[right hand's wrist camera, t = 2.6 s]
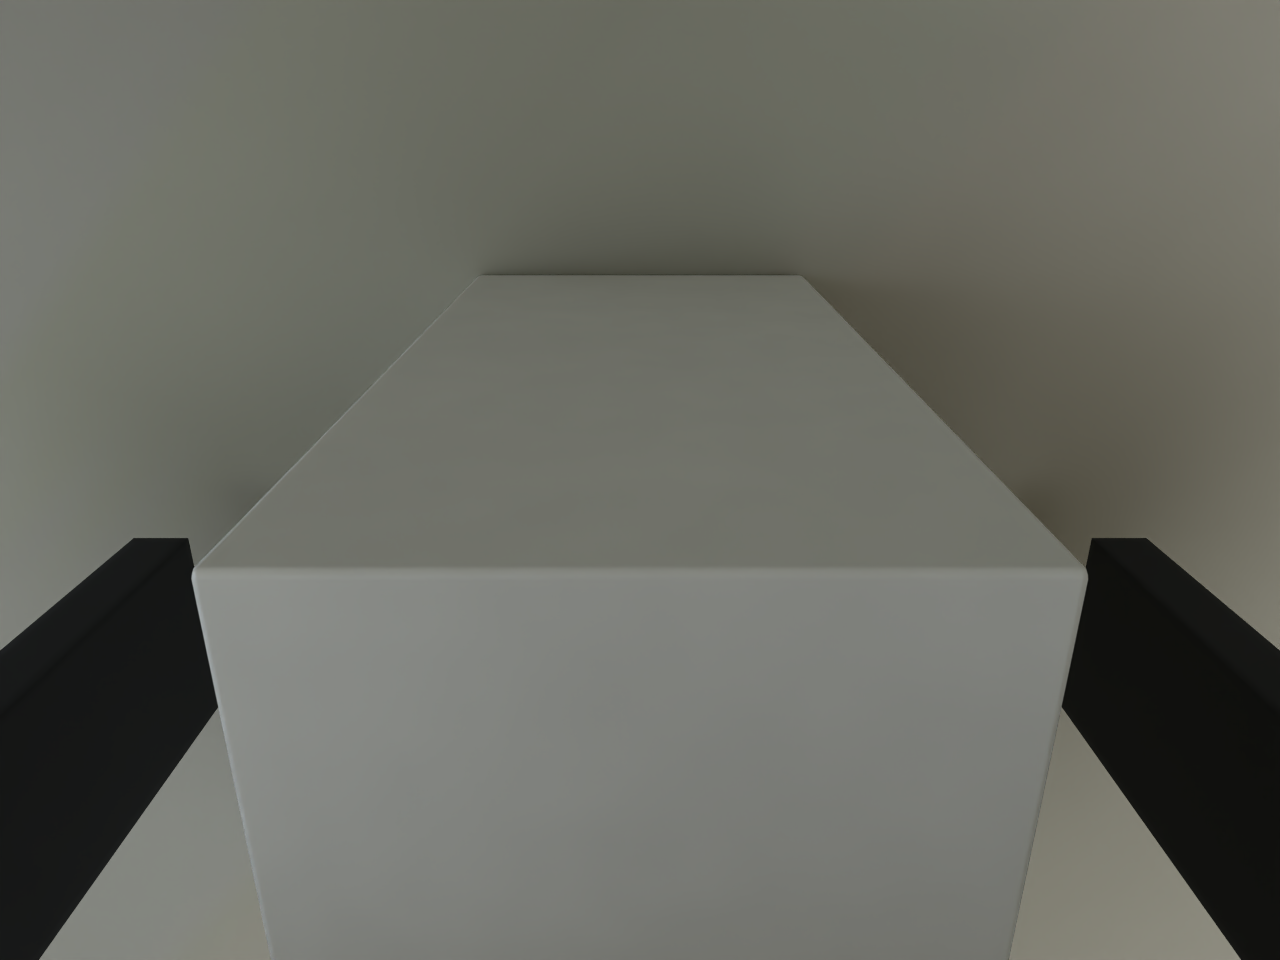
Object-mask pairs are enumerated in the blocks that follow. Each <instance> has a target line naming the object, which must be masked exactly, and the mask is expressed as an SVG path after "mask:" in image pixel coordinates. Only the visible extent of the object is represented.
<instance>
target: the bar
mask: <svg viewBox="0 0 1280 960" xmlns="http://www.w3.org/2000/svg"><path fill="white" fill-rule="evenodd" d="M191 579H192V584H193V589H194V593H195V598H196V603H197V608H198V613H199V617H200V622H201V627H202V632H203V636H204V641H205V646H206V651H207V656H208V660H209V665H210V670H211V675H212V679H213V684H214V689H215V694H216V699H217V703H218V708H219V713H220V718H221V722H222V727H223V732H224V737H225V742H226V746H227V751H228V756H229V761H230V765H231V770H232V775H233V780H234V785H235V789H236V794H237V799H238V804H239V808H240V813H241V818H242V823H243V828H244V832H245V837H246V842H247V847H248V851H249V856H250V861H251V866H252V871H253V875H254V880H255V885H256V890H257V894H258V899H259V904H260V909H261V914H262V918H263V923H264V928H265V933H266V937H267V942H268V947H269V952H270V957H271V960H1009V955H1010V951H1011V946H1012V941H1013V936H1014V931H1015V927H1016V922H1017V917H1018V912H1019V908H1020V903H1021V898H1022V893H1023V888H1024V884H1025V879H1026V874H1027V869H1028V864H1029V860H1030V855H1031V850H1032V845H1033V841H1034V836H1035V831H1036V826H1037V821H1038V817H1039V812H1040V807H1041V802H1042V798H1043V793H1044V788H1045V783H1046V778H1047V774H1048V769H1049V764H1050V759H1051V754H1052V750H1053V745H1054V740H1055V735H1056V731H1057V726H1058V721H1059V716H1060V711H1061V707H1062V702H1063V697H1064V692H1065V688H1066V683H1067V678H1068V673H1069V668H1070V664H1071V659H1072V654H1073V649H1074V644H1075V640H1076V635H1077V630H1078V625H1079V621H1080V616H1081V611H1082V606H1083V601H1084V597H1085V592H1086V587H1087V582H1088V574H1087V570H1086V568H1085V567H1084V566H1083V565H1082V564H1081V563H1080V562H1079V561H1078V560H1077V559H1076V558H1075V556H1074V555H1073V554H1072V553H1071V552H1070V551H1069V550H1068V549H1067V548H1066V547H1065V546H1064V545H1063V544H1062V543H1061V542H1060V541H1059V540H1058V539H1057V538H1056V537H1055V536H1054V535H1053V534H1052V533H1051V532H1050V531H1049V530H1048V529H1047V528H1046V527H1045V526H1044V525H1043V524H1042V522H1041V521H1040V520H1039V519H1038V518H1037V517H1036V516H1035V515H1034V514H1033V513H1032V512H1031V511H1030V510H1029V509H1028V508H1027V507H1026V506H1025V505H1024V504H1023V503H1022V502H1021V501H1020V500H1019V499H1018V498H1017V497H1016V496H1015V495H1014V494H1013V493H1012V492H1011V491H1010V489H1009V488H1008V487H1007V486H1006V485H1005V484H1004V483H1003V482H1002V481H1001V480H1000V479H999V478H998V477H997V476H996V475H995V474H994V473H993V472H992V471H991V470H990V469H989V468H988V467H987V466H986V465H985V464H984V463H983V462H982V461H981V460H980V459H979V458H978V457H977V455H976V454H975V453H974V452H973V451H972V450H971V449H970V448H969V447H968V446H967V445H966V444H965V443H964V442H963V441H962V440H961V439H960V438H959V437H958V436H957V435H956V434H955V433H954V432H953V431H952V430H951V429H950V428H949V427H948V426H947V425H946V424H945V423H944V421H943V420H942V419H941V418H940V417H939V416H938V415H937V414H936V413H935V412H934V411H933V410H932V409H931V408H930V407H929V406H928V405H927V404H926V403H925V402H924V401H923V400H922V399H921V398H920V397H919V396H918V395H917V394H916V393H915V392H914V391H913V390H912V389H911V387H910V386H909V385H908V384H907V383H906V382H905V381H904V380H903V379H902V378H901V377H900V376H899V375H898V374H897V373H896V372H895V371H894V370H893V369H892V368H891V367H890V366H889V365H888V364H887V363H886V362H885V361H884V360H883V359H882V358H881V357H880V356H879V355H878V353H877V352H876V351H875V350H874V349H873V348H872V347H871V346H870V345H869V344H868V343H867V342H866V341H865V340H864V339H863V338H862V337H861V336H860V335H859V334H858V333H857V332H856V331H855V330H854V329H853V328H852V327H851V326H850V325H849V324H848V323H847V322H846V321H845V319H844V318H843V317H842V316H841V315H840V314H839V313H838V312H837V311H836V310H835V309H834V308H833V307H832V306H831V305H830V304H829V303H828V302H827V301H826V300H825V299H824V298H823V297H822V296H821V295H820V294H819V293H818V292H817V291H816V290H815V289H814V288H813V287H812V285H811V284H810V283H809V282H808V281H807V280H806V279H805V278H804V277H803V276H800V275H480V276H478V277H477V278H476V279H475V280H474V281H473V282H472V283H471V284H470V285H469V286H468V287H467V288H466V289H465V290H464V291H463V292H462V293H461V294H460V295H459V296H458V297H457V298H456V299H455V300H454V301H453V302H452V303H451V304H450V305H449V306H448V307H447V309H446V310H445V311H444V312H443V313H442V314H441V315H440V316H439V317H438V318H437V319H436V320H435V321H434V322H433V323H432V324H431V325H430V326H429V327H428V328H427V329H426V330H425V331H424V332H423V333H422V334H421V335H420V336H419V337H418V338H417V339H416V340H415V341H414V342H413V343H412V344H411V345H410V347H409V348H408V349H407V350H406V351H405V352H404V353H403V354H402V355H401V356H400V357H399V358H398V359H397V360H396V361H395V362H394V363H393V364H392V365H391V366H390V367H389V368H388V369H387V370H386V371H385V372H384V373H383V374H382V375H381V376H380V377H379V378H378V379H377V380H376V381H375V382H374V383H373V384H372V386H371V387H370V388H369V389H368V390H367V391H366V392H365V393H364V394H363V395H362V396H361V397H360V398H359V399H358V400H357V401H356V402H355V403H354V404H353V405H352V406H351V407H350V408H349V409H348V410H347V411H346V412H345V413H344V414H343V415H342V416H341V417H340V418H339V419H338V420H337V421H336V422H335V424H334V425H333V426H332V427H331V428H330V429H329V430H328V431H327V432H326V433H325V434H324V435H323V436H322V437H321V438H320V439H319V440H318V441H317V442H316V443H315V444H314V445H313V446H312V447H311V448H310V449H309V450H308V451H307V452H306V453H305V454H304V455H303V456H302V457H301V458H300V459H299V460H298V461H297V463H296V464H295V465H294V466H293V467H292V468H291V469H290V470H289V471H288V472H287V473H286V474H285V475H284V476H283V477H282V478H281V479H280V480H279V481H278V482H277V483H276V484H275V485H274V486H273V487H272V488H271V489H270V490H269V491H268V492H267V493H266V494H265V495H264V496H263V497H262V498H261V499H260V500H259V502H258V503H257V504H256V505H255V506H254V507H253V508H252V509H251V510H250V511H249V512H248V513H247V514H246V515H245V516H244V517H243V518H242V519H241V520H240V521H239V522H238V523H237V524H236V525H235V526H234V527H233V528H232V529H231V530H230V531H229V532H228V533H227V534H226V535H225V536H224V537H223V538H222V540H221V541H220V542H219V543H218V544H217V545H216V546H215V547H214V548H213V549H212V550H211V551H210V552H209V553H208V554H207V555H206V556H205V557H204V558H203V559H202V560H201V561H200V562H199V563H198V564H197V565H196V566H195V567H194V568H193V572H192V578H191Z"/></svg>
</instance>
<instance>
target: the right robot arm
mask: <svg viewBox="0 0 1280 960" xmlns="http://www.w3.org/2000/svg"><path fill="white" fill-rule="evenodd" d="M193 568H194V564H193V559H192V554H191V550H190V545H189V540H188V538H133V539H132V540H131V541H130V542H129V543H128V544H126V545H125V546H124V547H123V548H122V549H120V550H119V551H118V552H117V553H116V554H114V555H113V556H112V557H111V558H110V559H109V560H107V561H106V562H105V563H104V564H103V565H101V566H100V567H99V568H98V569H97V570H95V571H94V572H93V573H92V574H91V575H90V576H88V577H87V578H86V579H85V580H84V581H82V582H81V583H80V584H79V585H78V586H76V587H75V588H74V589H73V590H72V591H70V592H69V593H68V594H67V595H66V596H65V597H63V598H62V599H61V600H60V601H59V602H57V603H56V604H55V605H54V606H53V607H51V608H50V609H49V610H48V611H47V612H46V613H44V614H43V615H42V616H41V617H40V618H38V619H37V620H36V621H35V622H34V623H32V624H31V625H30V626H29V627H28V628H27V629H25V630H24V631H23V632H22V633H21V634H19V635H18V636H17V637H16V638H15V639H13V640H12V641H11V642H10V643H9V644H8V645H6V646H5V647H4V648H3V649H2V650H0V960H39V959H40V957H41V956H42V955H43V953H44V952H45V950H46V949H47V948H48V946H49V945H50V943H51V942H52V940H53V939H54V938H55V936H56V935H57V933H58V932H59V931H60V929H61V928H62V926H63V925H64V924H65V922H66V921H67V919H68V918H69V916H70V915H71V914H72V912H73V911H74V909H75V908H76V907H77V905H78V904H79V902H80V901H81V900H82V898H83V897H84V895H85V894H86V893H87V891H88V890H89V888H90V887H91V885H92V884H93V883H94V881H95V880H96V878H97V877H98V876H99V874H100V873H101V871H102V870H103V869H104V867H105V866H106V864H107V863H108V862H109V860H110V859H111V857H112V856H113V854H114V853H115V852H116V850H117V849H118V847H119V846H120V845H121V843H122V842H123V840H124V839H125V838H126V836H127V835H128V833H129V832H130V831H131V829H132V828H133V826H134V825H135V823H136V822H137V821H138V819H139V818H140V816H141V815H142V814H143V812H144V811H145V809H146V808H147V807H148V805H149V804H150V802H151V801H152V800H153V798H154V797H155V795H156V794H157V792H158V791H159V790H160V788H161V787H162V785H163V784H164V783H165V781H166V780H167V778H168V777H169V776H170V774H171V773H172V771H173V770H174V768H175V767H176V766H177V764H178V763H179V761H180V760H181V759H182V757H183V756H184V754H185V753H186V752H187V750H188V749H189V747H190V746H191V745H192V743H193V742H194V740H195V739H196V737H197V736H198V735H199V733H200V732H201V730H202V729H203V728H204V726H205V725H206V723H207V722H208V721H209V719H210V718H211V716H212V715H213V714H214V712H215V711H216V709H217V708H218V703H217V699H216V694H215V689H214V684H213V679H212V675H211V670H210V665H209V660H208V656H207V651H206V646H205V641H204V636H203V632H202V627H201V622H200V617H199V613H198V608H197V603H196V598H195V593H194V589H193V584H192V579H191V578H192V572H193ZM1086 570H1087V574H1088V582H1087V587H1086V592H1085V597H1084V601H1083V606H1082V611H1081V616H1080V621H1079V625H1078V630H1077V635H1076V640H1075V644H1074V649H1073V654H1072V659H1071V664H1070V668H1069V673H1068V678H1067V683H1066V688H1065V692H1064V697H1063V702H1062V708H1063V709H1064V711H1065V712H1066V713H1067V715H1068V716H1069V718H1070V719H1071V721H1072V722H1073V723H1074V725H1075V726H1076V728H1077V729H1078V730H1079V732H1080V733H1081V735H1082V736H1083V737H1084V739H1085V740H1086V742H1087V743H1088V744H1089V746H1090V747H1091V749H1092V750H1093V752H1094V753H1095V754H1096V756H1097V757H1098V759H1099V760H1100V761H1101V763H1102V764H1103V766H1104V767H1105V768H1106V770H1107V771H1108V773H1109V774H1110V775H1111V777H1112V778H1113V780H1114V781H1115V783H1116V784H1117V785H1118V787H1119V788H1120V790H1121V791H1122V792H1123V794H1124V795H1125V797H1126V798H1127V799H1128V801H1129V802H1130V804H1131V805H1132V807H1133V808H1134V809H1135V811H1136V812H1137V814H1138V815H1139V816H1140V818H1141V819H1142V821H1143V822H1144V823H1145V825H1146V826H1147V828H1148V829H1149V830H1150V832H1151V833H1152V835H1153V836H1154V838H1155V839H1156V840H1157V842H1158V843H1159V845H1160V846H1161V847H1162V849H1163V850H1164V852H1165V853H1166V854H1167V856H1168V857H1169V859H1170V860H1171V861H1172V863H1173V864H1174V866H1175V867H1176V869H1177V870H1178V871H1179V873H1180V874H1181V876H1182V877H1183V878H1184V880H1185V881H1186V883H1187V884H1188V885H1189V887H1190V888H1191V890H1192V891H1193V892H1194V894H1195V895H1196V897H1197V898H1198V900H1199V901H1200V902H1201V904H1202V905H1203V907H1204V908H1205V909H1206V911H1207V912H1208V914H1209V915H1210V916H1211V918H1212V919H1213V921H1214V922H1215V923H1216V925H1217V926H1218V928H1219V929H1220V931H1221V932H1222V933H1223V935H1224V936H1225V938H1226V939H1227V940H1228V942H1229V943H1230V945H1231V946H1232V947H1233V949H1234V950H1235V952H1236V953H1237V955H1238V956H1239V957H1240V959H1241V960H1280V650H1278V649H1277V648H1276V647H1275V646H1274V645H1273V644H1271V643H1270V642H1269V641H1268V640H1267V639H1265V638H1264V637H1263V636H1262V635H1261V634H1259V633H1258V632H1257V631H1256V630H1255V629H1254V628H1252V627H1251V626H1250V625H1249V624H1248V623H1246V622H1245V621H1244V620H1243V619H1242V618H1240V617H1239V616H1238V615H1237V614H1236V613H1234V612H1233V611H1232V610H1231V609H1230V608H1229V607H1227V606H1226V605H1225V604H1224V603H1223V602H1221V601H1220V600H1219V599H1218V598H1217V597H1215V596H1214V595H1213V594H1212V593H1211V592H1210V591H1208V590H1207V589H1206V588H1205V587H1204V586H1202V585H1201V584H1200V583H1199V582H1198V581H1196V580H1195V579H1194V578H1193V577H1192V576H1191V575H1189V574H1188V573H1187V572H1186V571H1185V570H1183V569H1182V568H1181V567H1180V566H1179V565H1177V564H1176V563H1175V562H1174V561H1173V560H1172V559H1170V558H1169V557H1168V556H1167V555H1166V554H1164V553H1163V552H1162V551H1161V550H1160V549H1158V548H1157V547H1156V546H1155V545H1154V544H1152V543H1151V542H1150V541H1149V540H1148V539H1147V538H1092V540H1091V545H1090V550H1089V555H1088V559H1087V564H1086Z"/></svg>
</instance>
